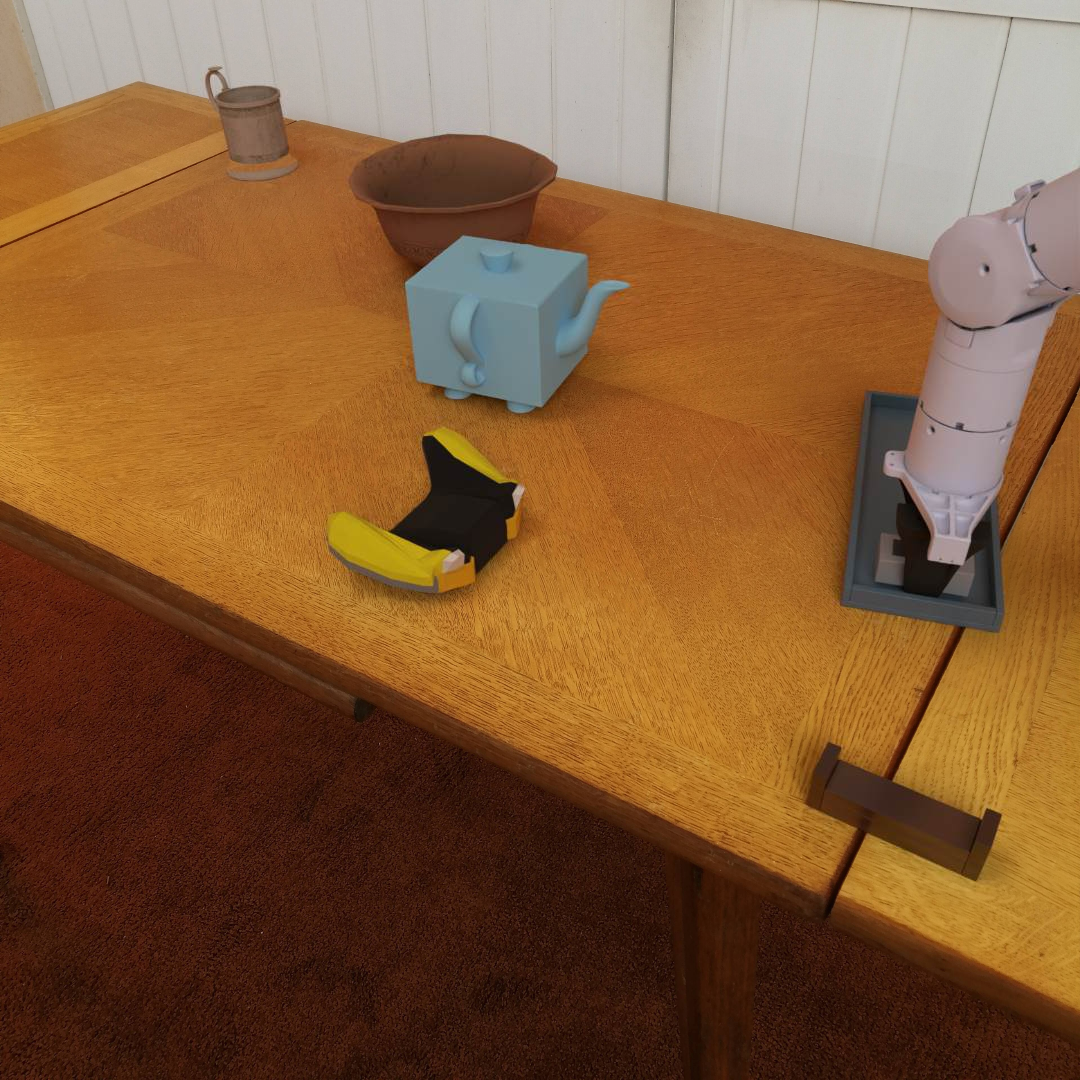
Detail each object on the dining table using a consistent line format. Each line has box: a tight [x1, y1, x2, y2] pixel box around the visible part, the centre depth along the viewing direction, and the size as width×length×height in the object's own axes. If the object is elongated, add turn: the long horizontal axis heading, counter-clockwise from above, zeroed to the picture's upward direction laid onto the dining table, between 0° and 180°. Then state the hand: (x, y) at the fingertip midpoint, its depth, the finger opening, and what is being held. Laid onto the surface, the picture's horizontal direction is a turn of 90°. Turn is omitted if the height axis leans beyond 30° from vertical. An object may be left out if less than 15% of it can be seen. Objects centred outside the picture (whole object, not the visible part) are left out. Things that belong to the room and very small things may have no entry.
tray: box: [840, 389, 1006, 634], centre depth 75 cm, size 10×26×2 cm, turn 163°
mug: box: [204, 66, 300, 182], centre depth 136 cm, size 14×10×12 cm
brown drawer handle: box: [805, 741, 1003, 882], centre depth 53 cm, size 9×2×3 cm, turn 58°
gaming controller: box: [326, 426, 526, 595], centre depth 72 cm, size 15×6×10 cm
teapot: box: [404, 236, 631, 414], centre depth 87 cm, size 18×16×13 cm
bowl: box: [347, 133, 559, 270], centre depth 108 cm, size 22×22×11 cm
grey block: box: [874, 533, 975, 597], centre depth 68 cm, size 6×3×2 cm, turn 73°
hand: (921, 577), depth 68 cm, fingers closed on grey block, 3 cm apart
